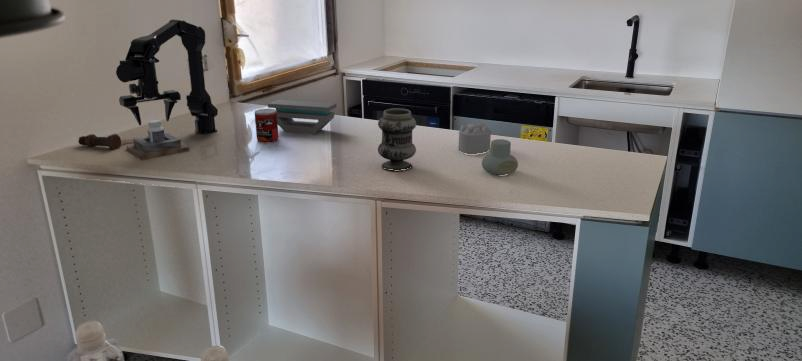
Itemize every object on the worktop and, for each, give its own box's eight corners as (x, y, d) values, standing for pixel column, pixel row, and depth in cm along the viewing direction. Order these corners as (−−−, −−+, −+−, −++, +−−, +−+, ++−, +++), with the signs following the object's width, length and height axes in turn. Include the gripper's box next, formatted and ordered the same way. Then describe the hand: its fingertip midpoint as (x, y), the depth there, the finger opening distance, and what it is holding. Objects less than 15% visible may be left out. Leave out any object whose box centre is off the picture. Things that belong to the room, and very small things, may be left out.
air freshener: (491, 179, 178) (492, 147, 174) (476, 171, 185) (478, 140, 181) (521, 174, 182) (524, 143, 178) (506, 166, 189) (508, 136, 186)
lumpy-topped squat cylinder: (491, 146, 211) (493, 122, 208) (485, 156, 199) (486, 131, 196) (463, 144, 214) (463, 120, 211) (454, 154, 202) (455, 129, 199)
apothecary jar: (403, 175, 181) (403, 117, 175) (370, 168, 187) (369, 112, 181) (423, 164, 191) (423, 109, 185) (391, 159, 197) (390, 105, 191)
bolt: (84, 150, 215) (119, 151, 211) (74, 146, 210) (109, 148, 206) (88, 134, 216) (122, 136, 212) (77, 130, 211) (112, 132, 207)
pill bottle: (169, 144, 209) (166, 120, 206) (159, 148, 205) (155, 123, 202) (157, 143, 211) (153, 119, 208) (146, 147, 206) (142, 122, 203)
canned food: (252, 142, 217) (250, 112, 213) (265, 136, 224) (263, 107, 220) (270, 144, 214) (268, 114, 211) (282, 138, 221) (280, 109, 218)
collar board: (172, 140, 219) (171, 131, 218) (189, 150, 207) (188, 140, 206) (127, 148, 209) (125, 138, 208) (142, 159, 198) (140, 148, 196)
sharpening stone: (337, 130, 232) (336, 103, 228) (329, 136, 225) (328, 107, 221) (279, 126, 239) (277, 99, 235) (269, 131, 232) (267, 103, 228)
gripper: (166, 71, 211) (172, 115, 216) (110, 77, 200) (118, 123, 205) (178, 75, 203) (184, 120, 208) (121, 82, 192) (128, 129, 197)
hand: (153, 123), depth 205 cm, fingers open, 9 cm apart
